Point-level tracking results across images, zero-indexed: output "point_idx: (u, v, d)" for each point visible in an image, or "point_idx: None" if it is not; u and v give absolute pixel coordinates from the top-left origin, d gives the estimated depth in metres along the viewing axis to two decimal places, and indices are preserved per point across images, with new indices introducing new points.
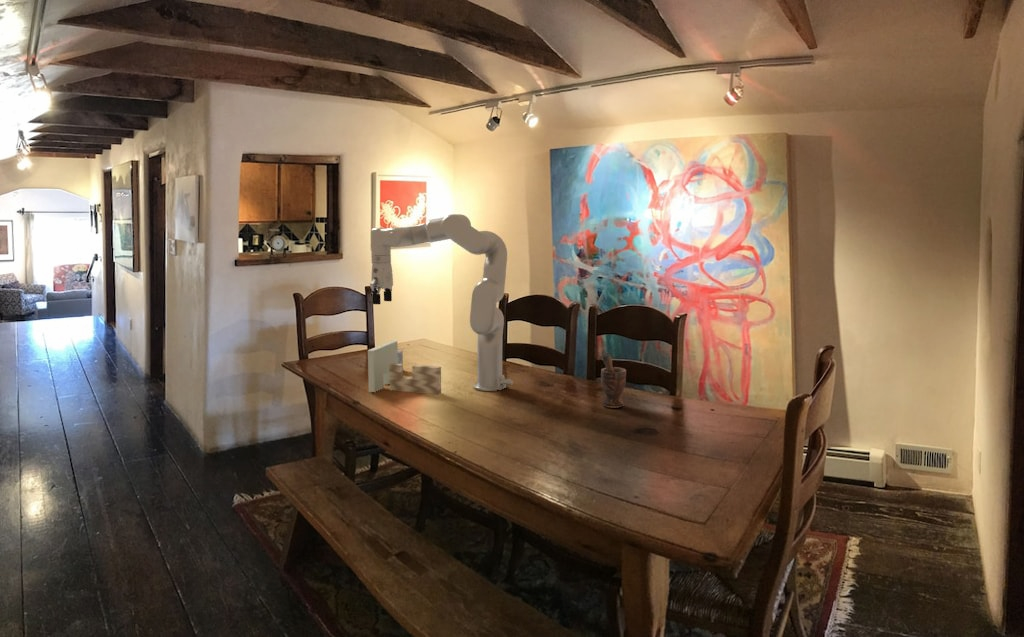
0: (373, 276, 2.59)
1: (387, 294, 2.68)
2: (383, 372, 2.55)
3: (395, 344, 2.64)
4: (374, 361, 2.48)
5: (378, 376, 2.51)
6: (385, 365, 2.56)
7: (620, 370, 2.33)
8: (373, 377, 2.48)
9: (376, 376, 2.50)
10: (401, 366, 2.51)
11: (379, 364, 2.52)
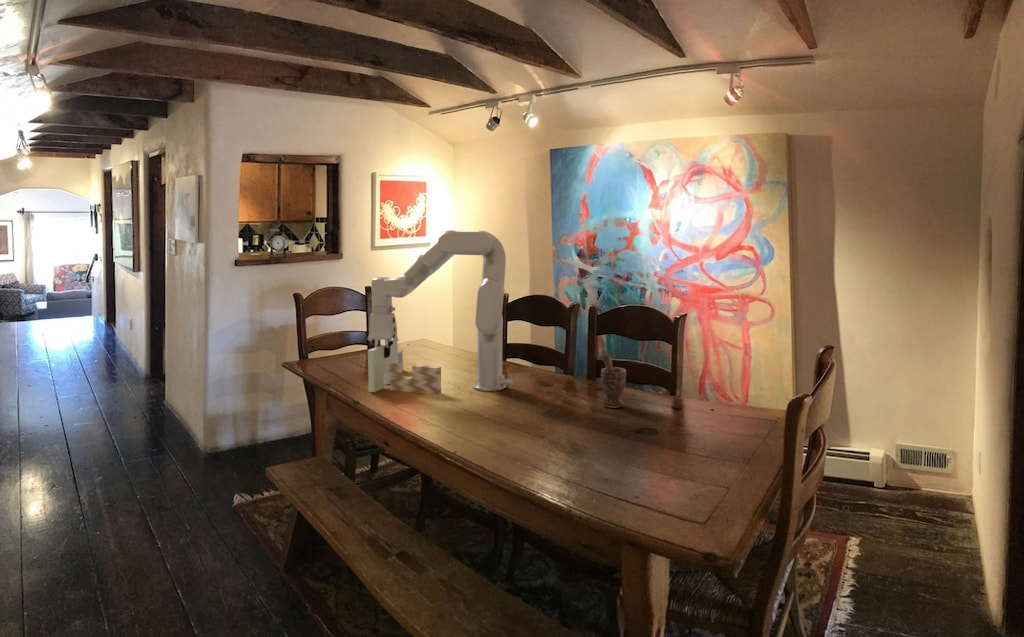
0: (393, 327, 2.53)
1: None
2: (383, 372, 2.55)
3: (395, 344, 2.64)
4: (374, 361, 2.48)
5: (378, 376, 2.51)
6: (385, 365, 2.56)
7: (620, 370, 2.33)
8: (373, 377, 2.48)
9: (376, 376, 2.50)
10: (401, 366, 2.51)
11: (379, 364, 2.52)
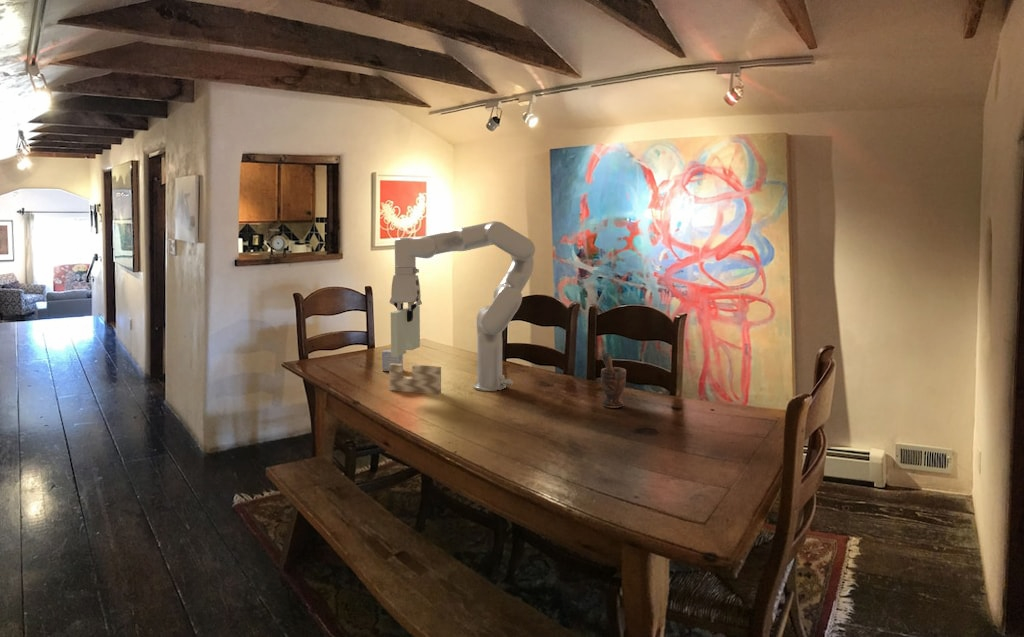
0: (416, 289, 2.43)
1: None
2: (406, 336, 2.45)
3: (418, 309, 2.55)
4: (397, 324, 2.38)
5: (401, 340, 2.42)
6: (407, 329, 2.47)
7: (620, 370, 2.33)
8: (396, 340, 2.39)
9: (399, 340, 2.40)
10: (401, 366, 2.51)
11: (402, 327, 2.42)
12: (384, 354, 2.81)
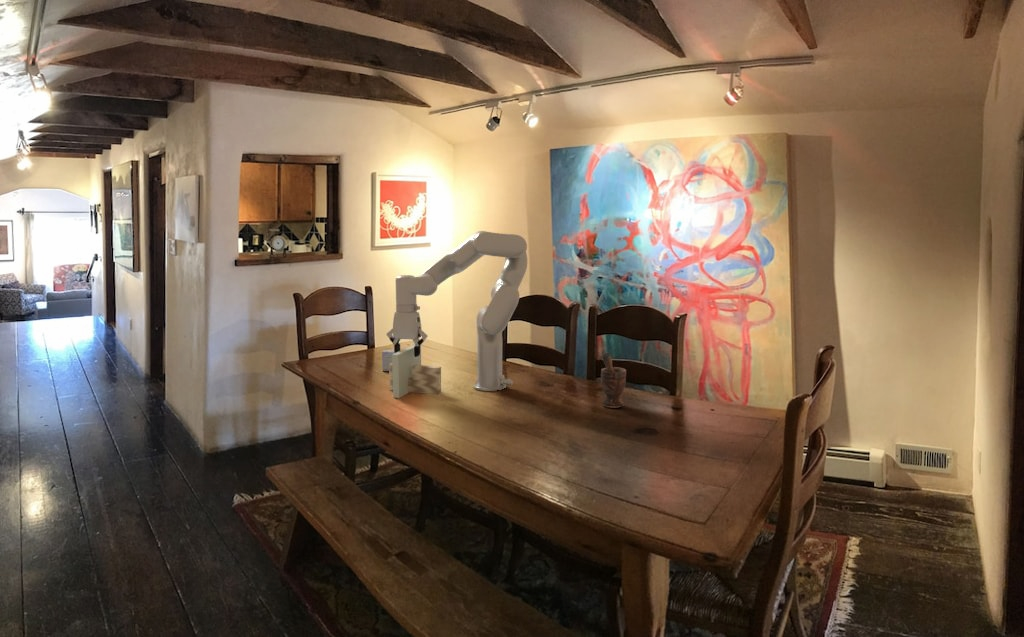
0: (417, 326, 2.45)
1: (398, 347, 2.50)
2: (407, 377, 2.48)
3: None
4: (399, 365, 2.41)
5: (402, 381, 2.44)
6: (409, 369, 2.49)
7: (620, 370, 2.33)
8: (398, 382, 2.41)
9: (400, 381, 2.43)
10: None
11: (404, 368, 2.45)
12: (384, 354, 2.81)
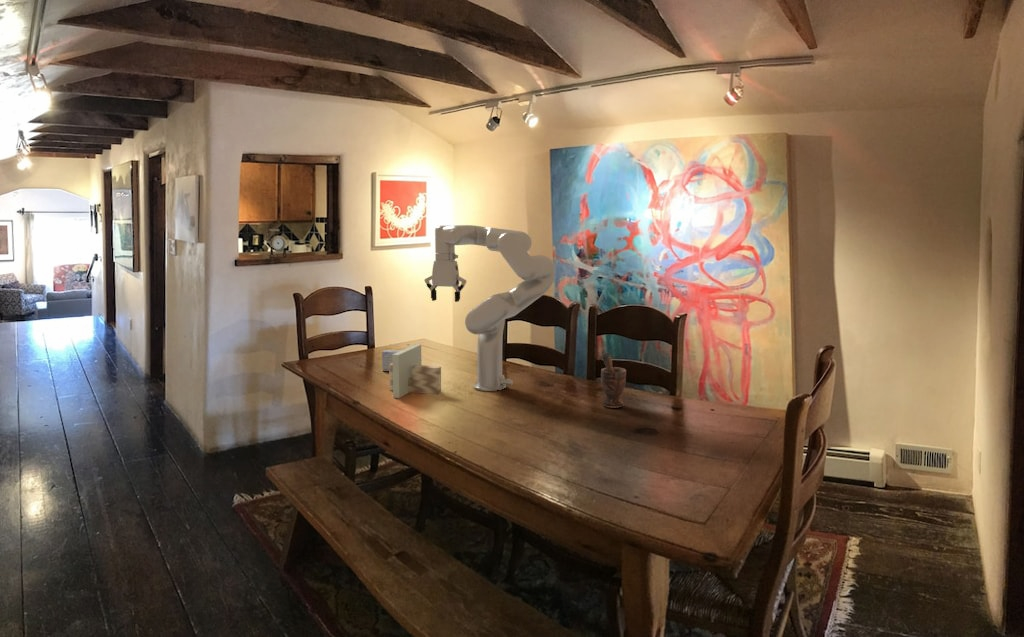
0: (456, 274, 2.58)
1: (435, 293, 2.63)
2: (407, 377, 2.48)
3: (419, 348, 2.57)
4: (399, 365, 2.41)
5: (403, 381, 2.44)
6: (409, 369, 2.49)
7: (620, 370, 2.33)
8: (398, 382, 2.41)
9: (401, 381, 2.42)
10: None
11: (404, 368, 2.45)
12: (384, 354, 2.81)
